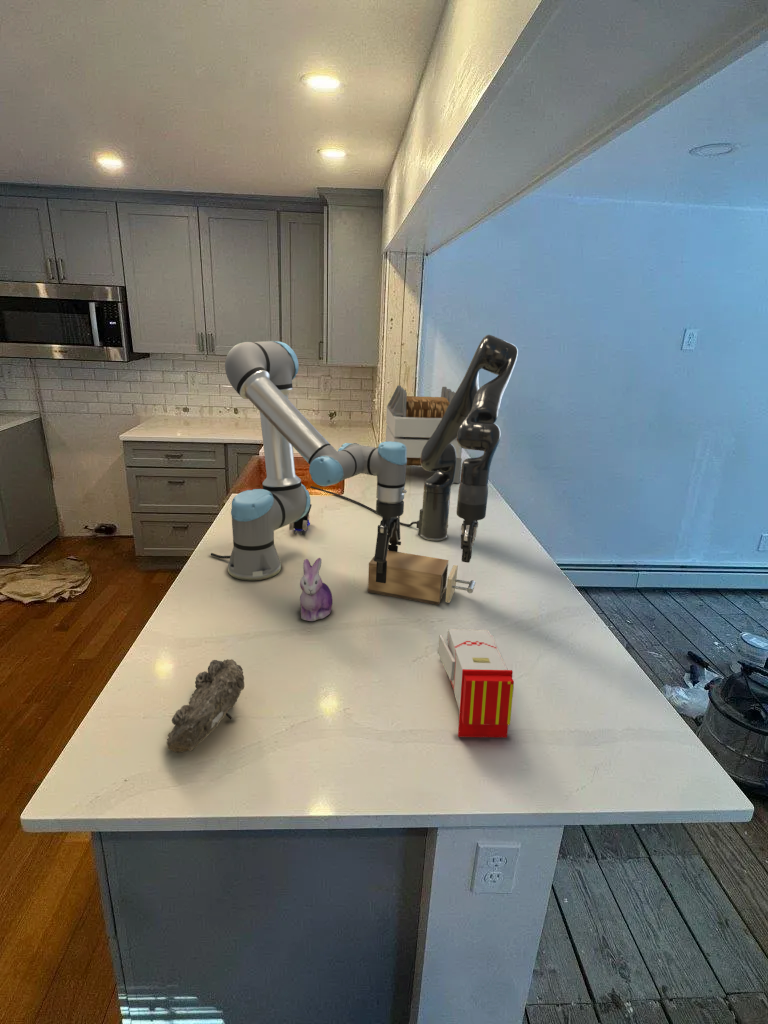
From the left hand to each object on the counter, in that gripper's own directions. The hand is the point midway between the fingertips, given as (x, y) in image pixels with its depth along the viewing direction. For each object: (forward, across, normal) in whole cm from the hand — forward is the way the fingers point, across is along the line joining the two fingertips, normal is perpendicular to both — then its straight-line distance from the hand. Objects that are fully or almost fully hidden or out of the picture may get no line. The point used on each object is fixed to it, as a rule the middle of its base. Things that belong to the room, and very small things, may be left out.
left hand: (386, 573), depth 160 cm
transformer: (+4, +120, +19) cm, 121 cm away
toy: (+4, -39, -30) cm, 49 cm away
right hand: (-8, 0, -22) cm, 23 cm away
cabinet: (+4, 0, -6) cm, 7 cm away
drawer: (+3, 0, -12) cm, 13 cm away
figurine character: (+4, +31, +41) cm, 51 cm away
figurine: (+4, -21, +13) cm, 25 cm away
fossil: (+4, -64, +16) cm, 66 cm away
